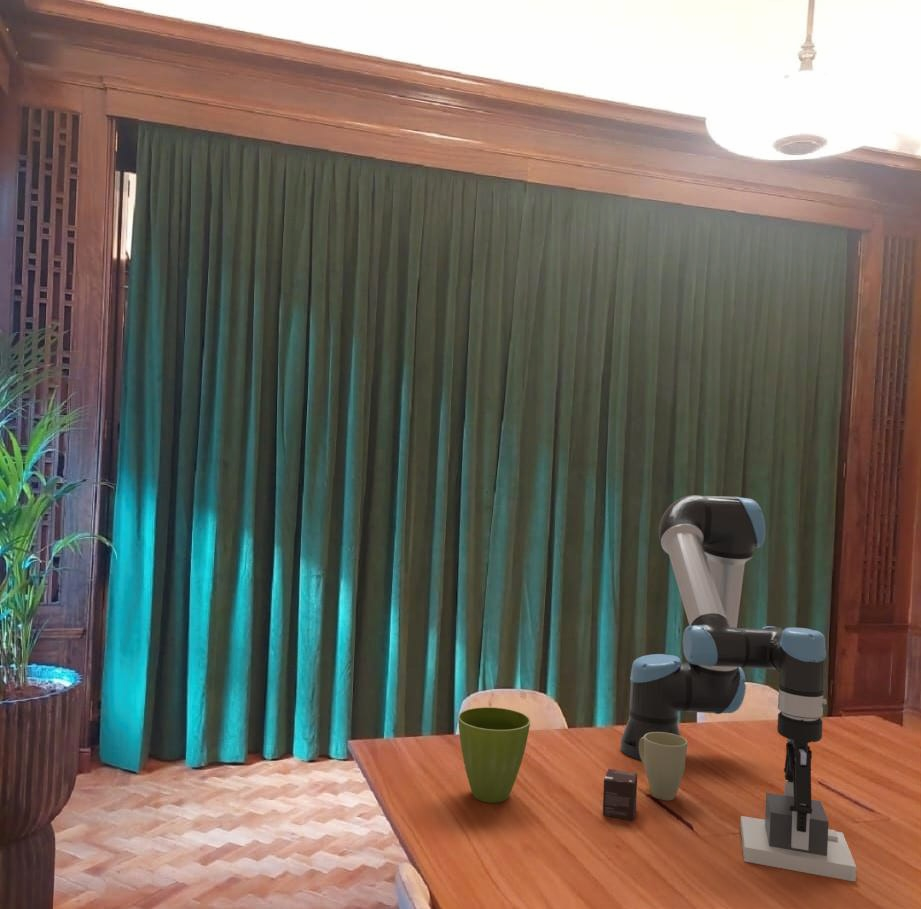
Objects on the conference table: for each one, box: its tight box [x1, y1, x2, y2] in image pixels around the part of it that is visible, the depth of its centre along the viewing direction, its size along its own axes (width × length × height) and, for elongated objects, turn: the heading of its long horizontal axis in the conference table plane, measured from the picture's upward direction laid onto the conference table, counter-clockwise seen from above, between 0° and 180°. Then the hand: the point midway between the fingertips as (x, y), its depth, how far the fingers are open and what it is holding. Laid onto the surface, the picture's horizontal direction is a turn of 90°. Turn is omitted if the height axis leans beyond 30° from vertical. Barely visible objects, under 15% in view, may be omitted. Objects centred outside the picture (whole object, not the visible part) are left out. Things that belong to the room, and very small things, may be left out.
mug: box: [639, 732, 688, 801], centre depth 170 cm, size 11×10×12 cm
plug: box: [764, 792, 829, 856], centre depth 145 cm, size 10×10×8 cm
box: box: [602, 768, 638, 821], centre depth 159 cm, size 6×6×7 cm
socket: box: [740, 815, 857, 882], centre depth 145 cm, size 18×14×3 cm
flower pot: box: [457, 706, 531, 804], centre depth 164 cm, size 15×15×16 cm
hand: (795, 832), depth 145 cm, fingers open, 13 cm apart
